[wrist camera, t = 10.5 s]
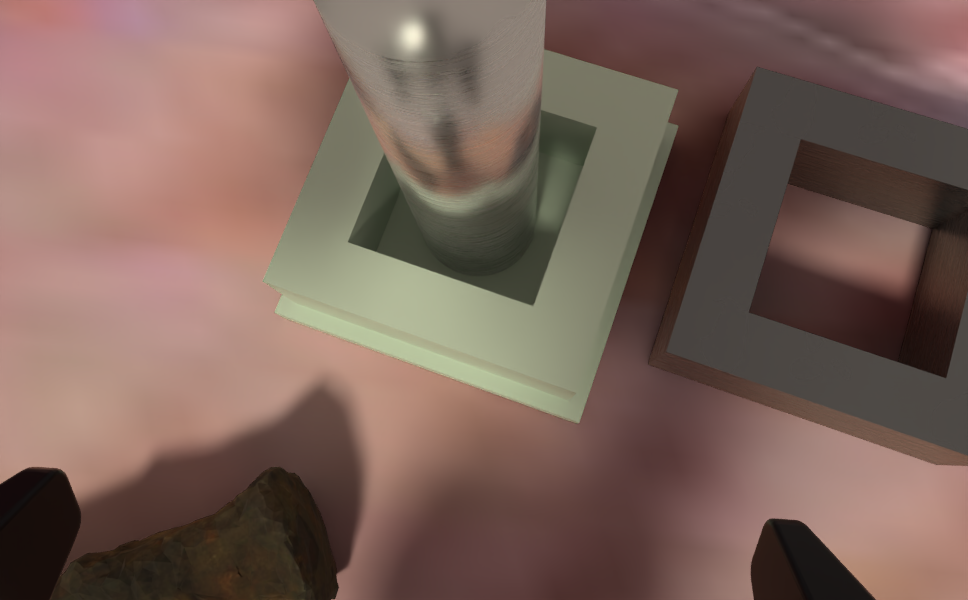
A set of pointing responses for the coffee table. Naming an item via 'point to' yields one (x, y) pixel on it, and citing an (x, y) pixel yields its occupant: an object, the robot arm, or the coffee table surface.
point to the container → (497, 297)
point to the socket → (745, 240)
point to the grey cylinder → (453, 115)
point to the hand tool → (220, 554)
